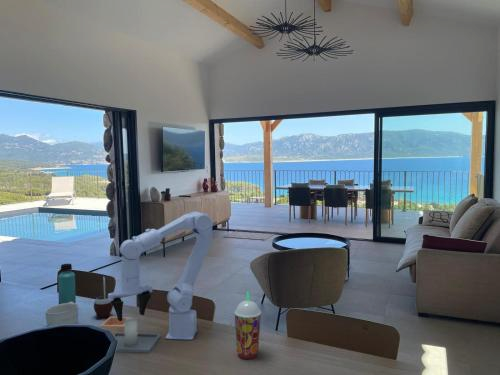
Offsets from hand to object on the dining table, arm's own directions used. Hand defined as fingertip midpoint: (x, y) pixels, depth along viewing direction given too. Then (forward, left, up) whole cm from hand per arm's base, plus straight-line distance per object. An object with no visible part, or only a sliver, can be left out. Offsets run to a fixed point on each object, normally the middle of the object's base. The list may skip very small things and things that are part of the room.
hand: (131, 317), depth 126 cm
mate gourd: (+20, -23, -10) cm, 32 cm away
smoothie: (-39, +4, -10) cm, 40 cm away
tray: (0, 0, -9) cm, 9 cm away
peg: (0, 0, -9) cm, 9 cm away
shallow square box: (+10, -12, -9) cm, 18 cm away
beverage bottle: (+37, -27, -10) cm, 47 cm away
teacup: (+30, -13, -10) cm, 34 cm away
